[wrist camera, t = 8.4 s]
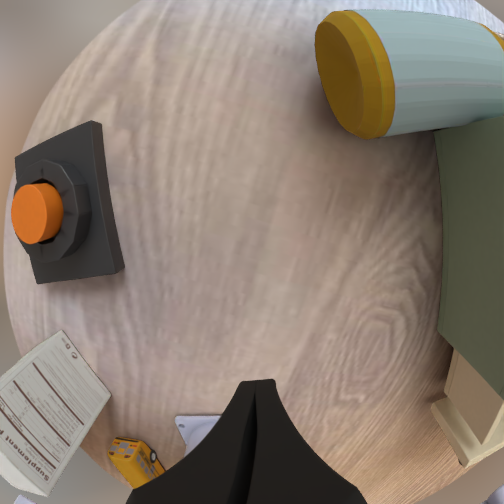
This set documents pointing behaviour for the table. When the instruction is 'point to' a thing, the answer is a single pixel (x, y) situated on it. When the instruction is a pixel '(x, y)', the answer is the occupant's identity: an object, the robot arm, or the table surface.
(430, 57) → the bottle
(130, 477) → the toy bus
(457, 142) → the cabinet
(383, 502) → the table surface
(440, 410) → the drawer
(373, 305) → the table surface
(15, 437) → the white packaging box
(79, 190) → the panel
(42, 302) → the table surface
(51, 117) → the table surface
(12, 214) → the button
